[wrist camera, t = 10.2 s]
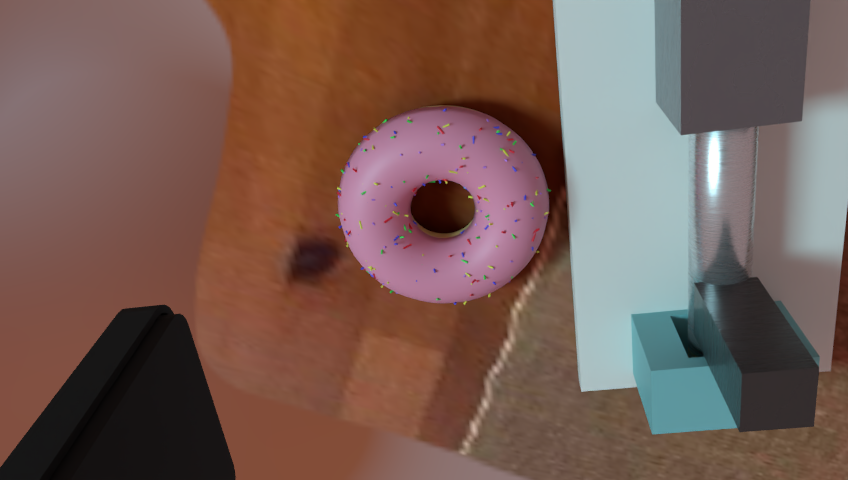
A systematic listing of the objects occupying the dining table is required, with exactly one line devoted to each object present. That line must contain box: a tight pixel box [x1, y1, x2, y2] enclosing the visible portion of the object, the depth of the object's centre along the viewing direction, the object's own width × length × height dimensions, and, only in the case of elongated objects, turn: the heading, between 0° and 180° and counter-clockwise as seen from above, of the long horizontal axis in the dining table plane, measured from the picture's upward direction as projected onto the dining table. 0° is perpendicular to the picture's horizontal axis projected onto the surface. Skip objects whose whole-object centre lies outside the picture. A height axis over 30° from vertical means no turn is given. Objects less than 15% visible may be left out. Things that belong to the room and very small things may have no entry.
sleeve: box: [654, 0, 811, 135], centre depth 34 cm, size 9×5×5 cm, turn 8°
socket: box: [631, 301, 820, 434], centre depth 41 cm, size 4×8×5 cm, turn 98°
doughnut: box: [336, 105, 551, 305], centre depth 40 cm, size 11×11×4 cm
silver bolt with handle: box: [688, 126, 819, 432], centre depth 34 cm, size 19×3×10 cm, turn 8°
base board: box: [553, 0, 848, 392], centre depth 39 cm, size 30×14×1 cm, turn 8°
